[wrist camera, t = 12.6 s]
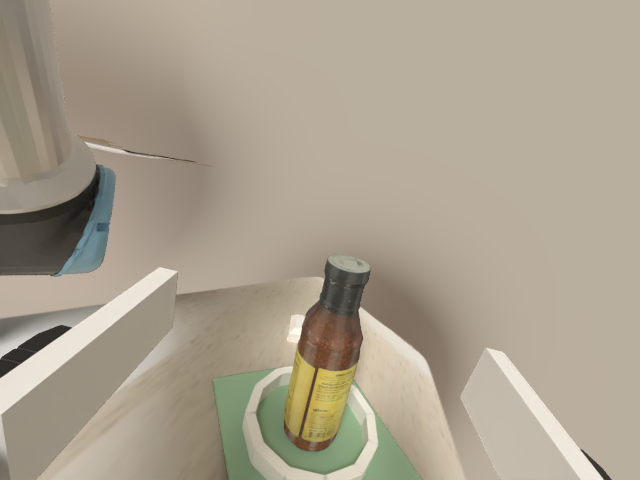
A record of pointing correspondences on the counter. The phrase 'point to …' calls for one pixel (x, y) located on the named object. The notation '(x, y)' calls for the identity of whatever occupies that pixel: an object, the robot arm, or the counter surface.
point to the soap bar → (295, 328)
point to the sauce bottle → (326, 356)
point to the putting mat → (282, 454)
